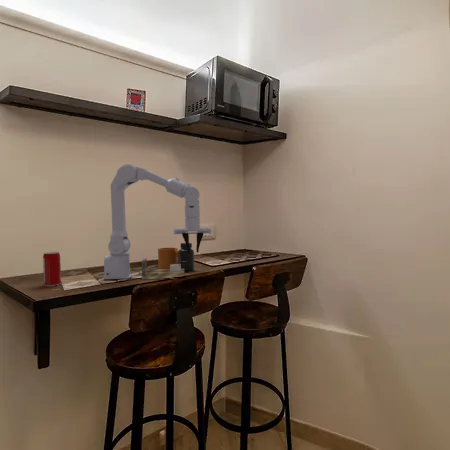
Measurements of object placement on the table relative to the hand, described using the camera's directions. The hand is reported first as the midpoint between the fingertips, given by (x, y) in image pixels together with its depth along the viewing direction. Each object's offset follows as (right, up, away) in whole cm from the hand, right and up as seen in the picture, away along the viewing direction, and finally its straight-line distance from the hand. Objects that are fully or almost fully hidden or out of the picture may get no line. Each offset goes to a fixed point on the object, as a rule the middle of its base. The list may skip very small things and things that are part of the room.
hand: (193, 252), depth 140 cm
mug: (-12, -9, +21) cm, 26 cm away
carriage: (-7, -8, -1) cm, 11 cm away
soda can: (-49, -11, -13) cm, 52 cm away
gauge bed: (-11, -10, -1) cm, 15 cm away
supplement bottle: (-4, -9, +13) cm, 16 cm away
